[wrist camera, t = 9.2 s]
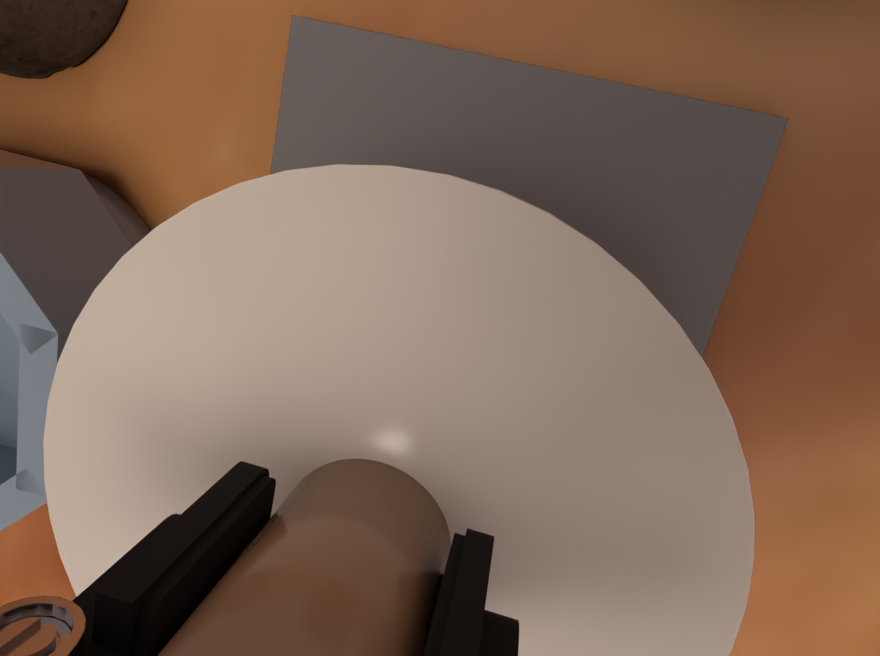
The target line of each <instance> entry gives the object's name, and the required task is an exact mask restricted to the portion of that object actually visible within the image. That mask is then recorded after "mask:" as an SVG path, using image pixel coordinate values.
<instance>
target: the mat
mask: <svg viewBox="0 0 880 656" xmlns="http://www.w3.org/2000/svg"><path fill="white" fill-rule="evenodd" d="M788 120H789V118H785V117H780V116H776V115H771V114H766V113H761V112H756V111H752V110H747V109H742V108H737V107H732V106H727V105H723V104H718V103H713V102H708V101H703V100H699V99H694V98H689V97H684V96H679V95H675V94H670V93H665V92H660V91H655V90H650V89H646V88H641V87H636V86H631V85H626V84H622V83H617V82H612V81H607V80H602V79H597V78H593V77H588V76H583V75H578V74H573V73H569V72H564V71H559V70H554V69H549V68H545V67H540V66H535V65H530V64H525V63H520V62H516V61H511V60H506V59H501V58H496V57H492V56H487V55H482V54H477V53H472V52H467V51H463V50H458V49H453V48H448V47H443V46H439V45H434V44H429V43H424V42H419V41H415V40H410V39H405V38H400V37H395V36H390V35H386V34H381V33H376V32H371V31H366V30H362V29H357V28H352V27H347V26H342V25H337V24H333V23H328V22H323V21H318V20H313V19H309V18H304V17H299V16H294V15H292V21H291V28H290V35H289V43H288V50H287V57H286V64H285V72H284V79H283V86H282V93H281V101H280V108H279V115H278V122H277V130H276V137H275V144H274V151H273V158H272V166H271V173H270V175H271V174H275V173H278V172H282V171H286V170H294V169H302V168H310V167H319V166H327V165H335V164H345V165H390V166H397V167H404V168H410V169H417V170H423V171H429V172H435V173H441V174H448V175H454V176H457V177H460V178H464V179H467V180H470V181H474V182H477V183H480V184H483V185H487V186H490V187H493V188H496V189H500V190H503V191H505V192H507V193H509V194H512V195H514V196H516V197H518V198H520V199H522V200H525V201H527V202H529V203H531V204H533V205H535V206H538V207H540V208H542V209H544V210H546V211H548V212H550V213H552V214H553V215H555V216H556V217H558V218H560V219H561V220H563V221H564V222H566V223H567V224H569V225H571V226H572V227H574V228H575V229H577V230H578V231H580V232H581V233H583V234H585V235H586V236H588V237H589V238H591V239H592V240H594V241H595V242H596V243H597V244H598V245H600V246H601V247H602V248H603V249H604V250H605V251H607V252H608V253H609V254H610V255H611V256H613V257H614V258H615V259H616V260H617V261H618V262H620V263H621V264H622V265H623V266H624V267H625V268H627V269H628V270H629V271H630V272H631V273H632V274H634V275H635V276H636V277H637V278H638V279H639V280H640V281H641V282H642V283H643V284H644V285H645V287H646V288H647V289H648V290H649V291H650V292H651V293H652V294H653V295H654V297H655V298H656V299H657V300H658V301H659V302H660V303H661V304H662V306H663V307H664V308H665V309H666V310H667V311H668V312H669V313H670V314H671V316H672V317H673V318H674V319H675V320H676V321H677V322H678V323H679V325H680V326H681V328H682V329H683V331H684V332H685V334H686V335H687V337H688V338H689V340H690V341H691V343H692V344H693V346H694V347H695V349H696V350H697V352H698V353H699V355H700V356H701V358H702V356H703V354H704V351H705V348H706V345H707V343H708V340H709V337H710V334H711V332H712V329H713V326H714V323H715V321H716V318H717V315H718V312H719V310H720V307H721V304H722V301H723V299H724V296H725V293H726V290H727V288H728V285H729V282H730V279H731V276H732V274H733V271H734V268H735V265H736V263H737V260H738V257H739V254H740V252H741V249H742V246H743V243H744V241H745V238H746V235H747V232H748V230H749V227H750V224H751V221H752V219H753V216H754V213H755V210H756V208H757V205H758V202H759V199H760V197H761V194H762V191H763V188H764V186H765V183H766V180H767V177H768V175H769V172H770V169H771V166H772V164H773V161H774V158H775V155H776V153H777V150H778V147H779V144H780V142H781V139H782V136H783V133H784V131H785V128H786V125H787V122H788Z"/></svg>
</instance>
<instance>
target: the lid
mask: <svg viewBox="0 0 880 656" xmlns="http://www.w3.org/2000/svg"><path fill="white" fill-rule="evenodd" d="M43 447H44V482H45V489H46V496H47V503H48V509H49V516H50V521H51V525H52V528H53V532H54V536H55V539H56V543H57V547H58V550H59V554H60V557H61V560H62V562H63V565H64V567H65V570H66V572H67V575H68V577H69V580H70V582H71V585H72V587H73V590H74V592H75V594H76V596H78V595H79V594H81V593H82V592H83V591H84V590H85V589H86V588H87V587H89V586H90V585H91V584H92V583H93V582H94V581H95V580H96V579H98V578H99V577H100V576H101V575H102V574H103V573H104V572H106V571H107V570H108V569H109V568H110V567H111V566H112V565H113V564H115V563H116V562H117V561H118V560H119V559H120V558H121V557H123V556H124V555H125V554H126V553H127V552H128V551H129V550H130V549H132V548H133V547H134V546H135V545H136V544H137V543H138V542H140V541H141V540H142V539H143V538H144V537H145V536H146V535H147V534H149V533H150V532H151V531H152V530H153V529H154V528H155V527H157V526H158V525H159V524H160V523H161V522H162V521H163V520H164V519H166V518H167V517H169V516H170V515H172V514H180V515H181V514H182V513H183V512H184V511H185V510H186V509H187V508H189V507H190V506H191V505H192V504H193V503H194V502H195V501H196V500H197V499H198V498H200V497H201V496H202V495H203V494H204V493H205V492H206V491H207V490H208V489H209V488H211V487H212V486H213V485H214V484H215V483H216V482H217V481H218V480H219V479H220V478H222V477H223V476H224V475H225V474H226V473H227V472H228V471H229V470H230V469H231V468H233V467H234V466H235V465H236V464H237V463H238V462H240V461H244V462H247V463H250V464H254V465H257V466H260V467H264V468H267V469H268V470H269V477H271V478H274V479H275V480H276V488H275V494H274V500H273V506H272V512H271V518H270V519H269V520H268V521H267V522H266V524H265V525H264V526H263V527H262V529H261V530H260V531H259V532H258V533H257V535H256V536H255V537H254V538H253V539H252V541H251V542H250V543H249V544H248V546H247V547H246V548H245V549H244V550H243V552H242V553H241V554H240V555H239V557H238V558H237V559H236V560H235V561H234V563H233V564H232V565H231V566H230V568H229V569H228V570H227V571H226V572H225V574H224V575H223V576H222V577H221V579H220V580H219V581H218V582H217V583H216V585H215V586H214V587H213V588H212V589H211V591H210V592H209V593H208V594H207V596H206V597H205V598H204V599H203V600H202V602H201V603H200V604H199V605H198V607H197V608H196V609H195V610H194V611H193V613H192V614H191V615H190V616H189V618H188V619H187V620H186V621H185V622H184V624H183V625H182V626H181V627H180V629H179V630H178V631H177V632H176V633H175V635H174V636H173V637H172V638H171V639H170V641H169V642H168V643H167V644H166V646H165V647H164V648H163V649H162V650H161V652H160V653H159V654H158V655H157V656H423V653H424V649H425V645H426V641H427V638H428V634H429V630H430V626H431V622H432V618H433V614H434V610H435V606H436V602H437V598H438V594H439V590H440V586H441V582H442V578H443V575H444V571H445V567H446V563H447V559H448V556H449V552H450V548H451V544H452V540H453V537H454V533H458V534H461V535H465V534H466V530H467V528H469V529H472V530H475V531H479V532H482V533H485V534H489V535H492V536H494V544H493V552H492V559H491V567H490V574H489V581H488V589H487V596H486V604H485V610H487V611H491V612H494V613H497V614H500V615H503V616H507V617H510V618H513V619H516V620H518V621H519V646H518V656H729V654H730V653H731V651H732V648H733V645H734V642H735V639H736V636H737V633H738V630H739V628H740V625H741V622H742V619H743V616H744V613H745V610H746V606H747V600H748V594H749V589H750V583H751V577H752V571H753V566H754V517H755V516H754V509H753V502H752V495H751V488H750V481H749V474H748V467H747V464H746V460H745V457H744V454H743V451H742V447H741V444H740V441H739V437H738V434H737V431H736V428H735V424H734V421H733V418H732V416H731V414H730V411H729V409H728V407H727V405H726V403H725V401H724V399H723V397H722V395H721V393H720V390H719V388H718V386H717V384H716V382H715V380H714V378H713V376H712V374H711V372H710V370H709V368H708V367H707V365H706V364H705V362H704V361H703V359H702V358H701V356H700V355H699V353H698V352H697V350H696V349H695V347H694V346H693V344H692V343H691V341H690V340H689V338H688V337H687V335H686V334H685V332H684V331H683V329H682V328H681V326H680V325H679V323H678V322H677V321H676V320H675V319H674V318H673V317H672V316H671V314H670V313H669V312H668V311H667V310H666V309H665V308H664V307H663V306H662V304H661V303H660V302H659V301H658V300H657V299H656V298H655V297H654V295H653V294H652V293H651V292H650V291H649V290H648V289H647V288H646V287H645V285H644V284H643V283H642V282H641V281H640V280H639V279H638V278H637V277H636V276H635V275H634V274H632V273H631V272H630V271H629V270H628V269H627V268H625V267H624V266H623V265H622V264H621V263H620V262H618V261H617V260H616V259H615V258H614V257H613V256H611V255H610V254H609V253H608V252H607V251H605V250H604V249H603V248H602V247H601V246H600V245H598V244H597V243H596V242H595V241H594V240H592V239H591V238H589V237H588V236H586V235H585V234H583V233H581V232H580V231H578V230H577V229H575V228H574V227H572V226H571V225H569V224H567V223H566V222H564V221H563V220H561V219H560V218H558V217H556V216H555V215H553V214H552V213H550V212H548V211H546V210H544V209H542V208H540V207H538V206H535V205H533V204H531V203H529V202H527V201H525V200H522V199H520V198H518V197H516V196H514V195H512V194H509V193H507V192H505V191H503V190H500V189H496V188H493V187H490V186H487V185H483V184H480V183H477V182H474V181H470V180H467V179H464V178H460V177H457V176H454V175H448V174H441V173H435V172H429V171H423V170H417V169H410V168H404V167H397V166H390V165H345V164H335V165H327V166H319V167H310V168H302V169H294V170H286V171H282V172H278V173H275V174H271V175H267V176H264V177H260V178H256V179H253V180H249V181H245V182H242V183H238V184H236V185H233V186H231V187H229V188H227V189H224V190H222V191H220V192H217V193H215V194H213V195H211V196H208V197H206V198H204V199H202V200H199V201H197V202H195V203H193V204H191V205H190V206H188V207H187V208H185V209H184V210H182V211H180V212H179V213H177V214H176V215H174V216H173V217H171V218H169V219H168V220H166V221H165V222H163V223H162V224H160V225H158V226H157V227H155V228H154V229H153V230H152V231H151V232H150V233H149V234H147V235H146V236H145V237H144V238H143V239H142V240H141V241H139V242H138V243H137V244H136V245H135V246H134V247H133V248H131V249H130V250H129V251H128V252H127V253H126V254H125V255H123V256H122V257H121V259H120V260H119V261H118V262H117V263H116V265H115V266H114V267H113V268H112V269H111V271H110V272H109V273H108V274H107V275H106V277H105V278H104V279H103V280H102V281H101V283H100V284H99V285H98V286H97V287H96V289H95V290H94V292H93V293H92V295H91V297H90V298H89V300H88V302H87V303H86V305H85V306H84V308H83V310H82V311H81V313H80V315H79V316H78V318H77V320H76V321H75V323H74V325H73V327H72V329H71V332H70V334H69V337H68V339H67V341H66V344H65V346H64V349H63V351H62V353H61V356H60V358H59V360H58V363H57V367H56V371H55V375H54V379H53V383H52V387H51V391H50V394H49V398H48V404H47V413H46V422H45V430H44V439H43Z"/></svg>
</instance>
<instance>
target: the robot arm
mask: <svg viewBox="0 0 880 656" xmlns="http://www.w3.org/2000/svg"><path fill="white" fill-rule="evenodd" d="M275 488H276V480H275V479H274V478H271V477H269V470H268V469H267V468H264V467H260V466H257V465H254V464H250V463H247V462H244V461H240V462H238V463H237V464H236V465H235V466H234V467H233V468H231V469H230V470H229V471H228V472H227V473H226V474H225V475H224V476H223V477H222V478H220V479H219V480H218V481H217V482H216V483H215V484H214V485H213V486H212V487H211V488H209V489H208V490H207V491H206V492H205V493H204V494H203V495H202V496H201V497H200V498H198V499H197V500H196V501H195V502H194V503H193V504H192V505H191V506H190V507H189V508H187V509H186V510H185V511H184V512H183V513H182V514H181V515H180V514H172V515H170V516H169V517H167V518H166V519H164V520H163V521H162V522H161V523H160V524H159V525H158V526H157V527H155V528H154V529H153V530H152V531H151V532H150V533H149V534H147V535H146V536H145V537H144V538H143V539H142V540H141V541H140V542H138V543H137V544H136V545H135V546H134V547H133V548H132V549H130V550H129V551H128V552H127V553H126V554H125V555H124V556H123V557H121V558H120V559H119V560H118V561H117V562H116V563H115V564H113V565H112V566H111V567H110V568H109V569H108V570H107V571H106V572H104V573H103V574H102V575H101V576H100V577H99V578H98V579H96V580H95V581H94V582H93V583H92V584H91V585H90V586H89V587H87V588H86V589H85V590H84V591H83V592H82V593H81V594H79V595H78V596H77V597H76V598H75V599H74V600H73V601H70V600H67V599H64V598H61V597H54V596H37V597H28V598H23V599H20V600H17V601H13V602H10V603H7V604H5V605H3V606H1V607H0V656H157V655H158V654H159V653H160V652H161V650H162V649H163V648H164V647H165V646H166V644H167V643H168V642H169V641H170V639H171V638H172V637H173V636H174V635H175V633H176V632H177V631H178V630H179V629H180V627H181V626H182V625H183V624H184V622H185V621H186V620H187V619H188V618H189V616H190V615H191V614H192V613H193V611H194V610H195V609H196V608H197V607H198V605H199V604H200V603H201V602H202V600H203V599H204V598H205V597H206V596H207V594H208V593H209V592H210V591H211V589H212V588H213V587H214V586H215V585H216V583H217V582H218V581H219V580H220V579H221V577H222V576H223V575H224V574H225V572H226V571H227V570H228V569H229V568H230V566H231V565H232V564H233V563H234V561H235V560H236V559H237V558H238V557H239V555H240V554H241V553H242V552H243V550H244V549H245V548H246V547H247V546H248V544H249V543H250V542H251V541H252V539H253V538H254V537H255V536H256V535H257V533H258V532H259V531H260V530H261V529H262V527H263V526H264V525H265V524H266V522H267V521H268V520H269V519H270V518H271V512H272V506H273V500H274V494H275ZM493 544H494V536H492V535H489V534H485V533H482V532H479V531H475V530H472V529H469V528H467V530H466V534H465V535H461V534H458V533H454V537H453V540H452V544H451V548H450V552H449V556H448V559H447V563H446V567H445V571H444V575H443V578H442V582H441V586H440V590H439V594H438V598H437V602H436V606H435V610H434V614H433V618H432V622H431V626H430V630H429V634H428V638H427V641H426V645H425V649H424V653H423V656H518V646H519V621H518V620H516V619H513V618H510V617H507V616H503V615H500V614H497V613H494V612H491V611H487V610H485V604H486V596H487V589H488V581H489V574H490V567H491V559H492V552H493Z"/></svg>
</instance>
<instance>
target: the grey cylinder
mask: <svg viewBox="0 0 880 656" xmlns="http://www.w3.org/2000/svg"><path fill="white" fill-rule="evenodd" d="M126 2H127V0H0V73H3V74H7V75H10V76H15V77H22V78H44V77H47V76H48V75H50V74H52V73H55V72H59V71H62V70H64V69H65V68H67V67H74V66H76V65H77V64H79V63H81V62H82V61H83V60H85V59H86V58H87V57H88V56H89V55H90V54H92V53H93V52H94V51H95V50H96V49H97V48H98V47H99V46H100V45H101V44H102V43H103V42H104V40H105V39H106V38H107V37H108V35H109V34H110V32H111V31H112V29H113V28H114V26H115V24H116V23H117V21H118V19H119V15H121V10H122V8H123V7H124V5H125V3H126Z"/></svg>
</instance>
